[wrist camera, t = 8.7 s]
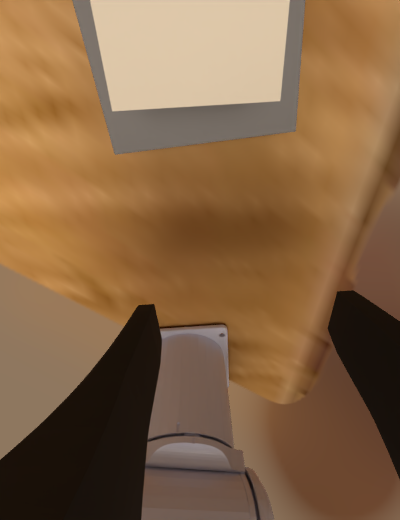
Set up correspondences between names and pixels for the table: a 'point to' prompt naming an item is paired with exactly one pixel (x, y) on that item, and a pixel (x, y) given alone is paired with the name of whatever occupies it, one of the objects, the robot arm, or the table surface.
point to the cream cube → (191, 51)
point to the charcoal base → (197, 117)
